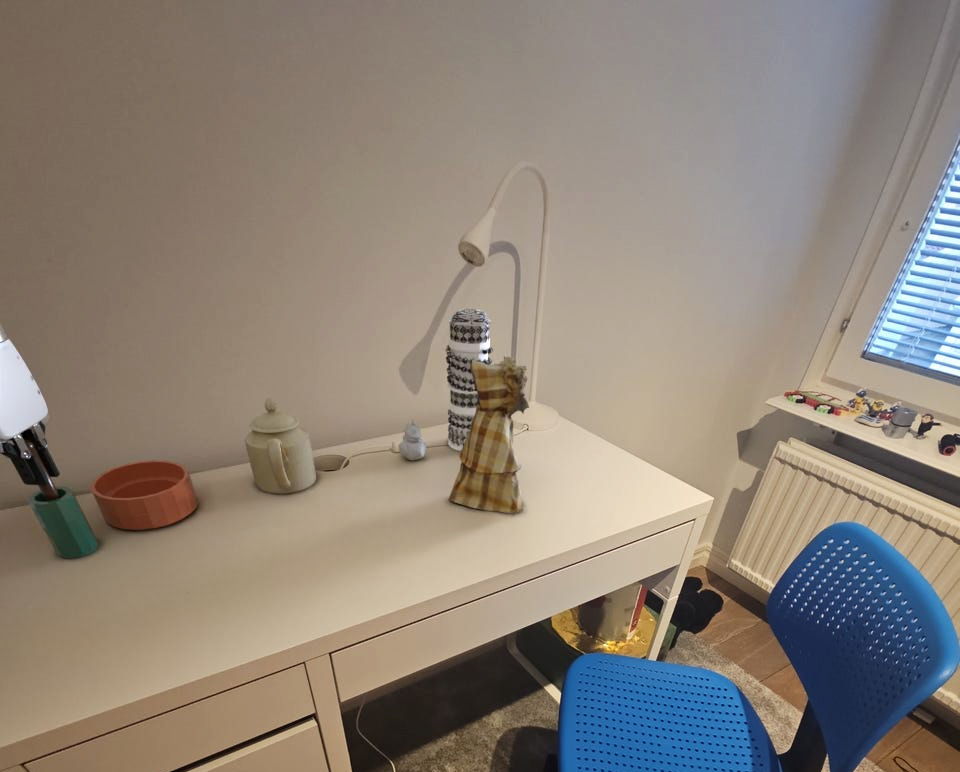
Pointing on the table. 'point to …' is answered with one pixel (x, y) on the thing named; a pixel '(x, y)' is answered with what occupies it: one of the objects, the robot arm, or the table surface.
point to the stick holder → (64, 523)
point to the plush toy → (492, 440)
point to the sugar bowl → (280, 452)
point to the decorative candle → (465, 370)
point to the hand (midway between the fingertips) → (42, 479)
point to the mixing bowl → (144, 494)
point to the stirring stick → (49, 489)
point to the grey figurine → (412, 443)
